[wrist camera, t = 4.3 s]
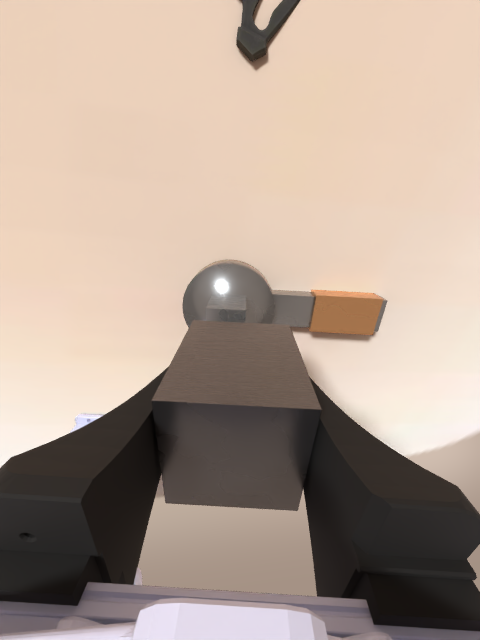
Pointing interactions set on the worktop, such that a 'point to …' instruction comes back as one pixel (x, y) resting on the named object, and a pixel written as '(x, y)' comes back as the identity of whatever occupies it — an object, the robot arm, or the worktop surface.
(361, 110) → the worktop surface
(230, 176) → the worktop surface
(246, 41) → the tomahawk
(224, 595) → the robot arm
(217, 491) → the dark grey block
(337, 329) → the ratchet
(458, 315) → the worktop surface
